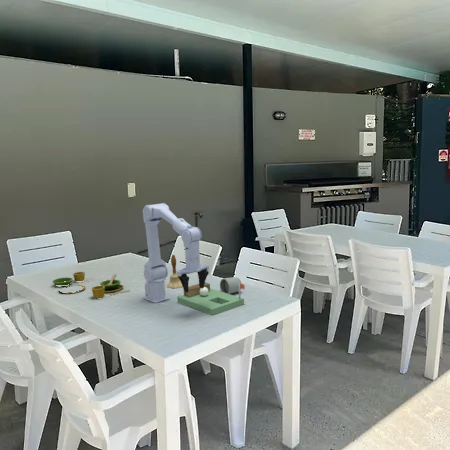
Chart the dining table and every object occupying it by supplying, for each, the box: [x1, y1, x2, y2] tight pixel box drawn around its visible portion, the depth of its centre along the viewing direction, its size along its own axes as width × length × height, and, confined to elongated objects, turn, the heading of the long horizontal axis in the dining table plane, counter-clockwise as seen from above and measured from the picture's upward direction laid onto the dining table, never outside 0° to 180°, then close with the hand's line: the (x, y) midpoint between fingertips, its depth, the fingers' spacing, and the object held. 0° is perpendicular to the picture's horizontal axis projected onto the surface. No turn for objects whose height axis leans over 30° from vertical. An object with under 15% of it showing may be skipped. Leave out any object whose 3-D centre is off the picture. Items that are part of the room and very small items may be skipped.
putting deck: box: [176, 283, 246, 316], centre depth 192 cm, size 26×18×10 cm
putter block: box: [183, 281, 211, 297], centre depth 200 cm, size 4×12×4 cm, turn 132°
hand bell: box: [166, 254, 183, 289], centre depth 220 cm, size 8×8×16 cm
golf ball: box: [200, 287, 209, 296], centre depth 196 cm, size 4×4×4 cm
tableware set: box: [52, 271, 131, 299], centre depth 221 cm, size 41×28×6 cm
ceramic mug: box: [219, 276, 242, 295], centre depth 208 cm, size 11×8×8 cm
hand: (193, 289), depth 181 cm, fingers open, 7 cm apart
